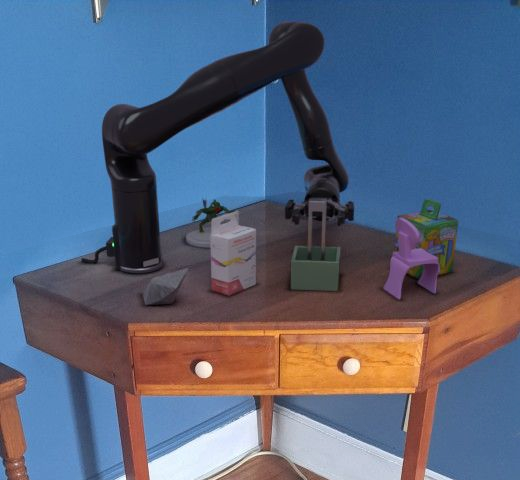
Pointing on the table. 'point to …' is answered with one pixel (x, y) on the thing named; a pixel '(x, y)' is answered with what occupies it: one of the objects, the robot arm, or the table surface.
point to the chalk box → (433, 236)
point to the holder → (315, 269)
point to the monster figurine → (203, 234)
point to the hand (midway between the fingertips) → (317, 220)
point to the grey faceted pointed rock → (164, 288)
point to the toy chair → (410, 260)
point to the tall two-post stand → (321, 206)
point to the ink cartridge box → (232, 255)
